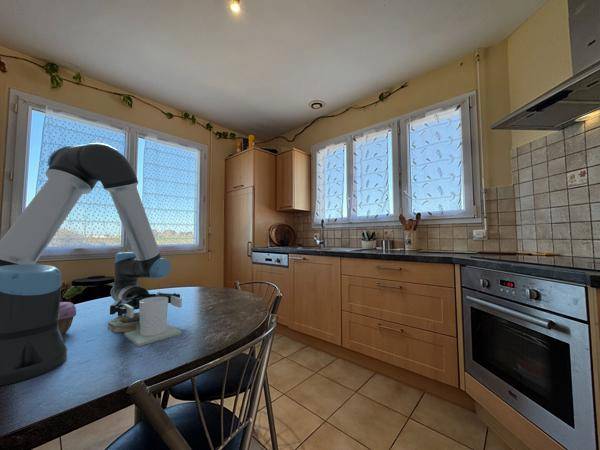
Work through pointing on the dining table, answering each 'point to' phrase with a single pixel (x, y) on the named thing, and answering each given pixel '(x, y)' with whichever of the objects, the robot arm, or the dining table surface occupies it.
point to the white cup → (153, 315)
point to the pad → (142, 340)
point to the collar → (124, 323)
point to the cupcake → (66, 316)
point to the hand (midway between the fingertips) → (158, 307)
